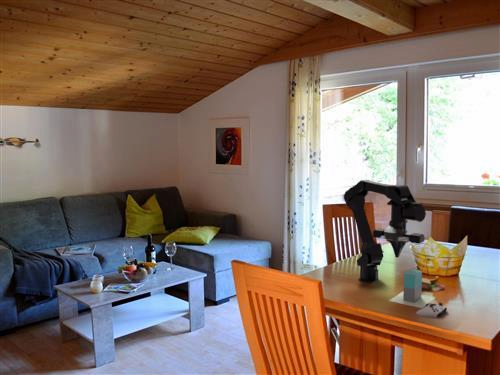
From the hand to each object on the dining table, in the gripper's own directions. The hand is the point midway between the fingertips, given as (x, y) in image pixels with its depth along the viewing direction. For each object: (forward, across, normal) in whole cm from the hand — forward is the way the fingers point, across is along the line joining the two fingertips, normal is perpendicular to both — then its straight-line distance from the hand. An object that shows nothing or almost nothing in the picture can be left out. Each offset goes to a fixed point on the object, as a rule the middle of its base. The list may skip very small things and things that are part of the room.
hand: (397, 257), depth 184 cm
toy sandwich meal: (+13, +9, +8) cm, 18 cm away
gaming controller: (+13, +20, -18) cm, 30 cm away
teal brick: (+7, +10, -10) cm, 16 cm away
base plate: (+13, +10, -10) cm, 19 cm away
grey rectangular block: (+12, +10, -10) cm, 18 cm away
